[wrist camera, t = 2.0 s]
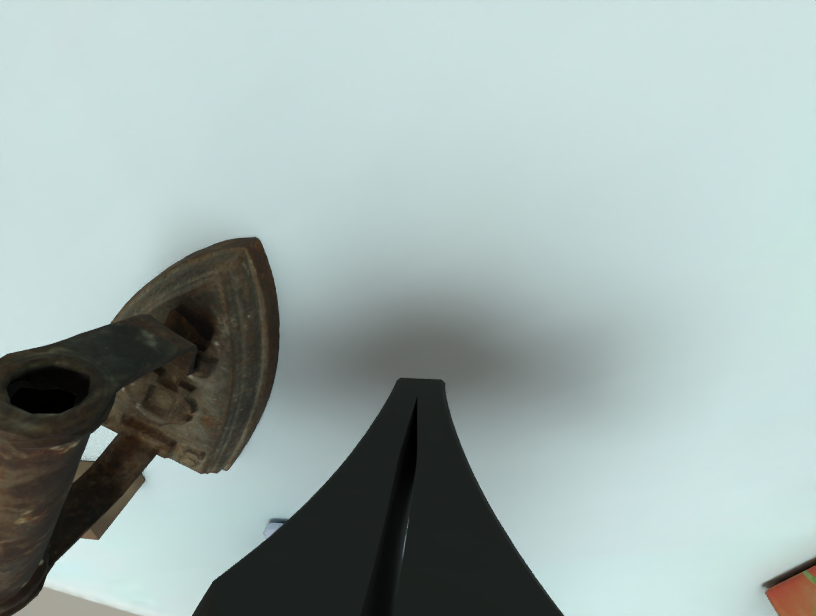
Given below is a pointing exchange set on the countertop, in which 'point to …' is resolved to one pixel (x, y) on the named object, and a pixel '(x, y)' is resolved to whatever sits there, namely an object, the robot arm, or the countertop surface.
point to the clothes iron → (132, 402)
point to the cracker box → (795, 595)
